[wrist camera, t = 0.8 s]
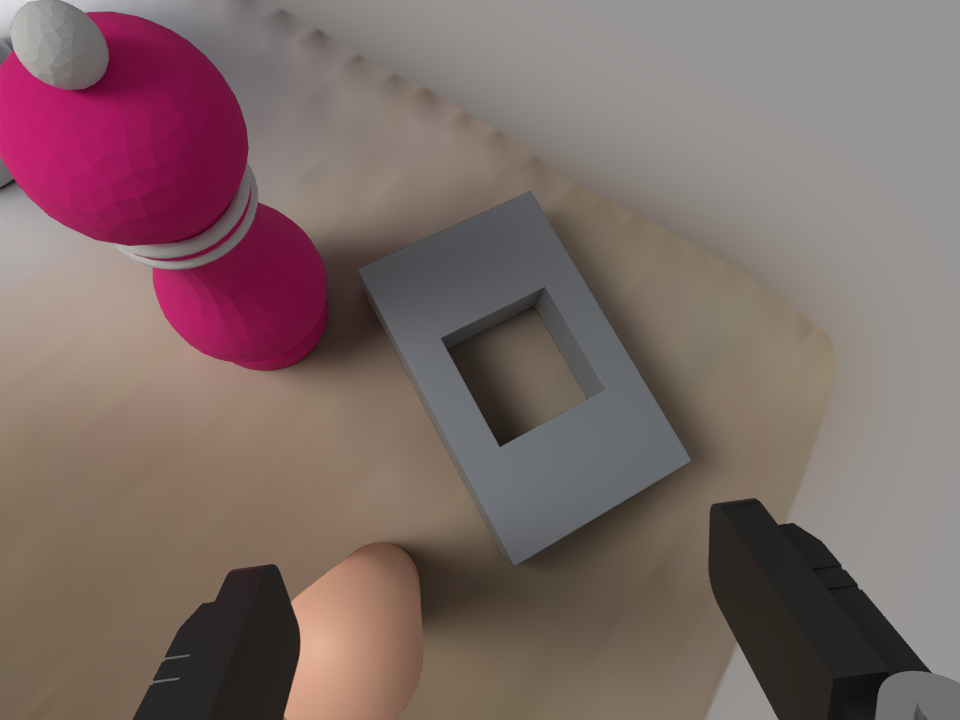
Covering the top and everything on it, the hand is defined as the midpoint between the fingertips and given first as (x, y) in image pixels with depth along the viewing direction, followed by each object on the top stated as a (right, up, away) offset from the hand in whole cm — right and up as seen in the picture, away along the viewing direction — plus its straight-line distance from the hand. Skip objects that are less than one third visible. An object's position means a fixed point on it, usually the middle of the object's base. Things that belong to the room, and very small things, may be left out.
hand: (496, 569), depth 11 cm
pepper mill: (-12, +6, +21) cm, 25 cm away
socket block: (+1, +3, +21) cm, 21 cm away
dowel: (-5, -7, +18) cm, 20 cm away
